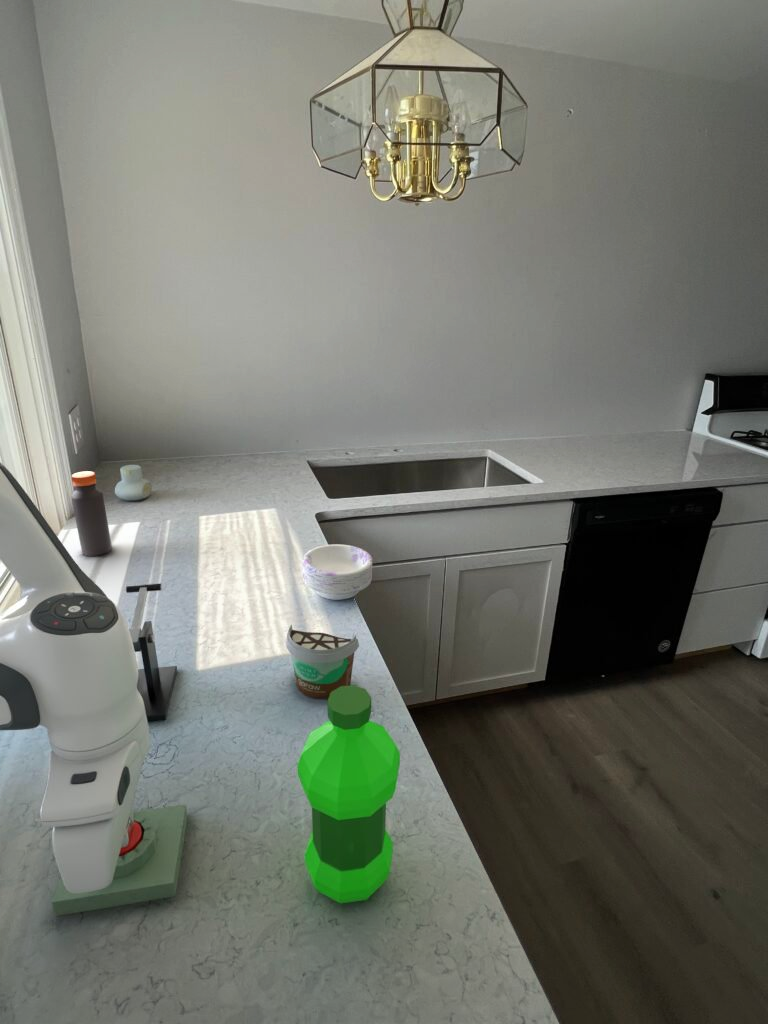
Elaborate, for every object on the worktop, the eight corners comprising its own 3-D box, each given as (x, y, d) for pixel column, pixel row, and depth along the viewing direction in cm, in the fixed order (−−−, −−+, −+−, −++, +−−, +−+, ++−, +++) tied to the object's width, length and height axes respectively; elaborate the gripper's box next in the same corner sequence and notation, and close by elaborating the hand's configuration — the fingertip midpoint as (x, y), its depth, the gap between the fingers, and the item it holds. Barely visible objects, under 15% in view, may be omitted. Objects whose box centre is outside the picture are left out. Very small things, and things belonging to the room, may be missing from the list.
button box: (55, 916, 58) (48, 890, 57) (84, 831, 68) (78, 807, 66) (175, 896, 61) (171, 871, 59) (187, 817, 70) (184, 793, 68)
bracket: (122, 676, 94) (110, 611, 90) (177, 671, 96) (168, 607, 91) (102, 727, 84) (88, 656, 79) (165, 720, 85) (155, 650, 80)
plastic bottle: (292, 915, 59) (282, 731, 50) (318, 828, 69) (314, 660, 60) (385, 932, 58) (392, 747, 48) (399, 841, 67) (407, 671, 58)
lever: (128, 591, 95) (126, 581, 93) (162, 589, 96) (160, 579, 94) (113, 653, 85) (110, 644, 83) (152, 650, 86) (149, 640, 84)
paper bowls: (385, 586, 125) (386, 554, 123) (343, 615, 114) (343, 581, 111) (332, 567, 133) (332, 537, 130) (288, 593, 122) (287, 560, 119)
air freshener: (130, 491, 179) (125, 461, 175) (155, 492, 178) (151, 462, 175) (113, 503, 168) (108, 472, 165) (140, 504, 168) (135, 473, 164)
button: (100, 867, 61) (98, 855, 60) (110, 834, 65) (107, 823, 64) (139, 861, 62) (137, 849, 61) (146, 829, 65) (144, 818, 65)
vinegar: (75, 554, 136) (60, 476, 129) (96, 543, 142) (82, 468, 135) (98, 558, 135) (83, 480, 127) (118, 547, 141) (105, 471, 133)
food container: (275, 696, 91) (272, 645, 87) (290, 673, 96) (288, 624, 93) (348, 710, 88) (348, 658, 84) (358, 685, 94) (359, 635, 90)
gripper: (98, 679, 66) (116, 767, 71) (31, 832, 48) (62, 936, 53) (153, 674, 67) (168, 760, 73) (110, 821, 49) (133, 924, 54)
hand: (123, 836), depth 63 cm, fingers closed, pressing on button
